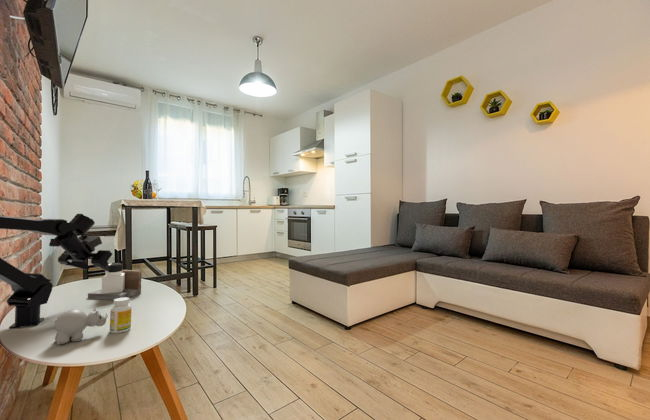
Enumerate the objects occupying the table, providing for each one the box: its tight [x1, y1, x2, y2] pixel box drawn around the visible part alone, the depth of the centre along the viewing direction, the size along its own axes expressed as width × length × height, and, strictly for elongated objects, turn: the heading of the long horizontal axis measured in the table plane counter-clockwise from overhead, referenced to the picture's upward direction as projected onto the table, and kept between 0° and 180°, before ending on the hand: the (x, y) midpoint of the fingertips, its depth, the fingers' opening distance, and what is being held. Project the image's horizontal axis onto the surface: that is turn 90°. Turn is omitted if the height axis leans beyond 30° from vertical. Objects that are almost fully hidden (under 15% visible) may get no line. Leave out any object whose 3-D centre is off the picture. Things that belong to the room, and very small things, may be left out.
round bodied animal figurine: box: [53, 308, 109, 345], centre depth 85 cm, size 7×12×8 cm, turn 136°
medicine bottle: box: [101, 262, 125, 294], centre depth 127 cm, size 7×7×12 cm
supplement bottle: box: [109, 297, 132, 334], centre depth 91 cm, size 5×5×10 cm
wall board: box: [87, 269, 143, 301], centre depth 127 cm, size 12×15×10 cm
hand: (98, 269), depth 119 cm, fingers open, 9 cm apart
